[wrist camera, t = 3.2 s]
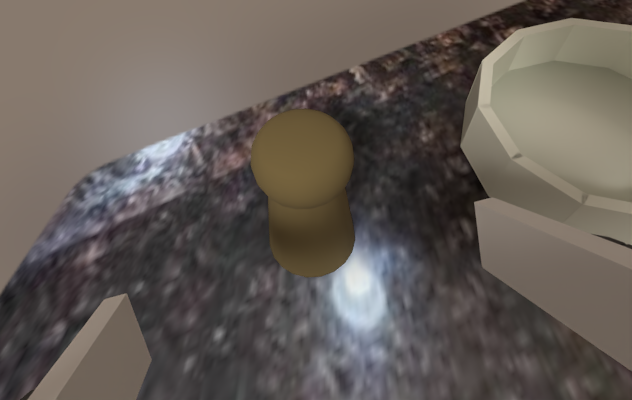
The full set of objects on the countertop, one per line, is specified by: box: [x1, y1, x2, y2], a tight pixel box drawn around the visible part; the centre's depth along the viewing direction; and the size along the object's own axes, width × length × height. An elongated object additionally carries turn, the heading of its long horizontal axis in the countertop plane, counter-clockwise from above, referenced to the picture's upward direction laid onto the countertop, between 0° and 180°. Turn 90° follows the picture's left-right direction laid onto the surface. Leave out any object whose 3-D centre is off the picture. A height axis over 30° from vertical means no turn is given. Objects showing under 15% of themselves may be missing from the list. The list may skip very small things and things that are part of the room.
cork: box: [251, 109, 355, 277], centre depth 24 cm, size 6×6×11 cm
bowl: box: [460, 18, 632, 245], centre depth 29 cm, size 18×18×4 cm
